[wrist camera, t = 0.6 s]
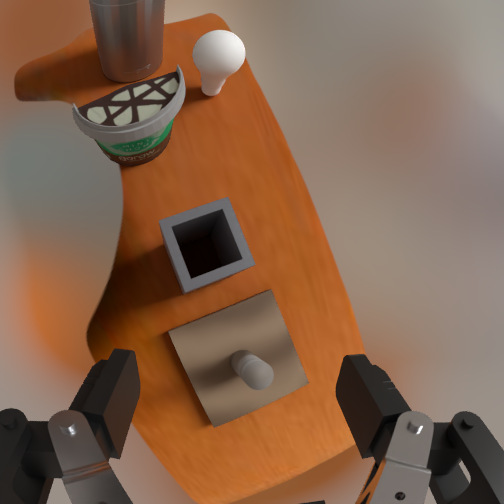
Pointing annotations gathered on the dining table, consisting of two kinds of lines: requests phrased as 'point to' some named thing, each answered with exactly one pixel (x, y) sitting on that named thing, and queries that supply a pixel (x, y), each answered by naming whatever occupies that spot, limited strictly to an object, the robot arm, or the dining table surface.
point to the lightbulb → (217, 59)
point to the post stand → (239, 357)
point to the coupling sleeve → (223, 237)
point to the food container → (134, 118)
